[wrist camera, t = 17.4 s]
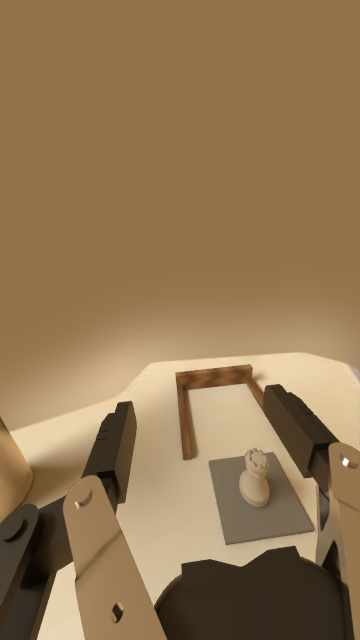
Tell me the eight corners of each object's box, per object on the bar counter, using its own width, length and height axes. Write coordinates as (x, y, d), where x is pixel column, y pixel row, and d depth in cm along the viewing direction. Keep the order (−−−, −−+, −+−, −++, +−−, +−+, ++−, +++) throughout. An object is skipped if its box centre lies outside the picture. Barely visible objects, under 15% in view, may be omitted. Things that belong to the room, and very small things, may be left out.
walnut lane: (183, 460, 34) (181, 441, 32) (176, 387, 52) (175, 372, 51) (292, 445, 35) (296, 426, 33) (248, 378, 53) (250, 364, 51)
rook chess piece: (232, 484, 30) (234, 451, 27) (251, 468, 32) (255, 436, 29) (255, 517, 26) (260, 482, 23) (275, 496, 28) (282, 462, 25)
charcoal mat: (225, 544, 24) (225, 542, 24) (208, 462, 33) (208, 460, 33) (313, 531, 25) (313, 529, 24) (272, 454, 34) (272, 452, 34)
